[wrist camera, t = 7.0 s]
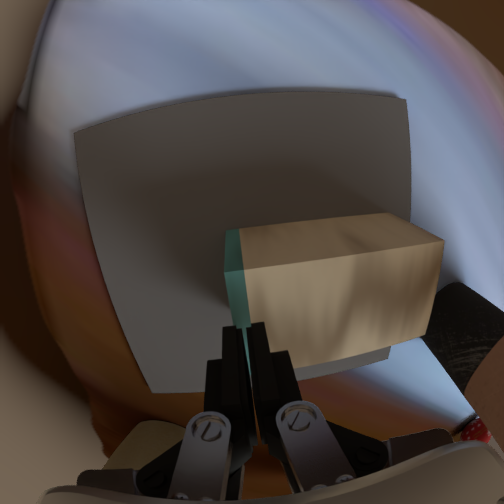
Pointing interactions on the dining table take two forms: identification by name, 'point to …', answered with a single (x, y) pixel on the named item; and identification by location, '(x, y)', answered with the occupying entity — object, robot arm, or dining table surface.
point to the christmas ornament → (476, 431)
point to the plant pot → (145, 444)
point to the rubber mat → (226, 206)
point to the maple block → (333, 284)
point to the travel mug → (471, 350)
